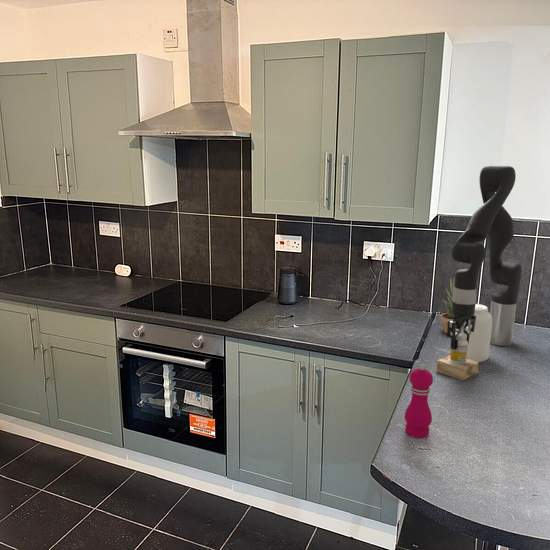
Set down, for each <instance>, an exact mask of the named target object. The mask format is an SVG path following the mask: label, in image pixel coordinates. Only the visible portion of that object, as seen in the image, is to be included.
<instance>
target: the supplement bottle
mask: <svg viewBox="0 0 550 550" xmlns="http://www.w3.org/2000/svg"><path fill="white" fill-rule="evenodd" d="M456 334H457V333H456ZM466 339H467V334H465V333H461V334H460V335H459V337H458V347H457V349H456V350H454V349H451V348H450V354H449V355H450V360H451V361H453V362H455V363H465V362H466V360H467V351H468V341H467V340H466Z"/></svg>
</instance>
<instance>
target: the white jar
mask: <svg viewBox="0 0 550 550" xmlns="http://www.w3.org/2000/svg"><path fill="white" fill-rule="evenodd" d="M474 315H475V316H476V321H475V328H474V332H471V335H470V336H469V344H468V351H467V358H468V359H471V360H474V361H477V362H479V363H481V362H485V361H487V360H488V359H489V357H490V356H489V355H490V346H491V343H490V339H491V330H492V316H491V315H490V312H489V308H488V306H486V305H484V304H481V303H476V305H475V314H474ZM471 328H472V325H471ZM456 330H458V329H456ZM462 333H463V331H462Z"/></svg>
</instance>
